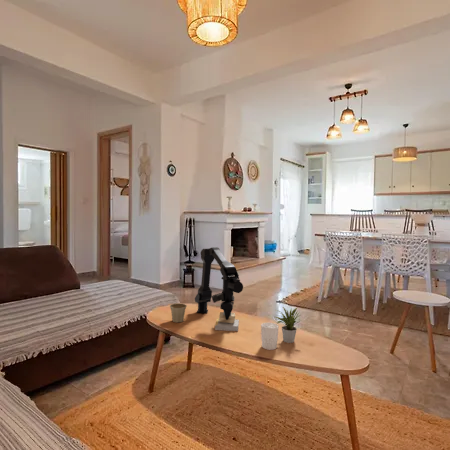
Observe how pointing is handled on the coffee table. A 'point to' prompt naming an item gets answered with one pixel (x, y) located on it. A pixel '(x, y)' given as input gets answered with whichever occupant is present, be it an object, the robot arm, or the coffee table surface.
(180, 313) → the flower pot
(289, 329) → the house plant
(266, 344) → the white cup
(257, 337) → the coffee table surface
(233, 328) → the dock
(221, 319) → the pallet
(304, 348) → the coffee table surface
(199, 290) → the robot arm
